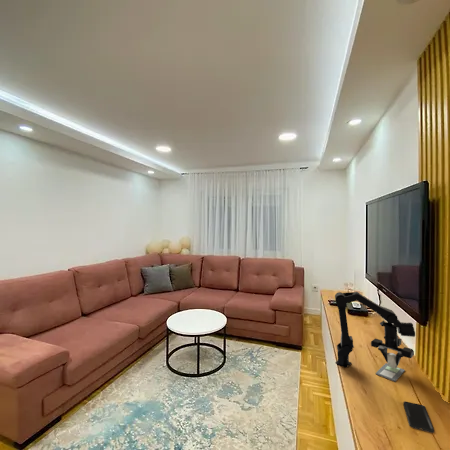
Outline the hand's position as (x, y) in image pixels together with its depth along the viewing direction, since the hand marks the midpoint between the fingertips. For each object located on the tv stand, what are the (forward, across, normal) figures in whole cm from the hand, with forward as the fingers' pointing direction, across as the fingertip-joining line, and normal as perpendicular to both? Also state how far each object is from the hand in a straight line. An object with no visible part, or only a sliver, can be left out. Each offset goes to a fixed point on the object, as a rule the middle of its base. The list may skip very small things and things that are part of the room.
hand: (392, 363), depth 137 cm
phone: (+4, -18, +30) cm, 35 cm away
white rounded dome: (+1, 0, 0) cm, 1 cm away
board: (+3, 0, +4) cm, 5 cm away
